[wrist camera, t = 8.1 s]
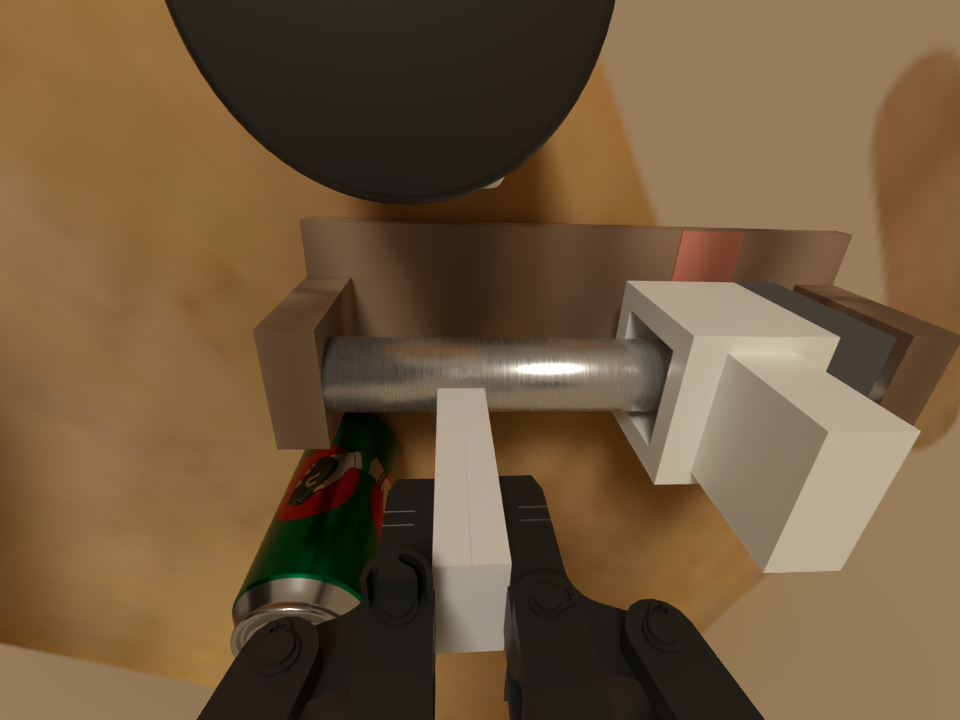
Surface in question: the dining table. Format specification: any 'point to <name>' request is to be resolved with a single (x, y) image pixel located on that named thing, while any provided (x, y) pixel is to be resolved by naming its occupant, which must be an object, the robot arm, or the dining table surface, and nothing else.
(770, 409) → the sleeve
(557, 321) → the stand
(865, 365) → the dark grey square collar
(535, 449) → the dining table surface
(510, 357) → the pipe
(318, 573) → the soda can
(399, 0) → the jar
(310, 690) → the robot arm
